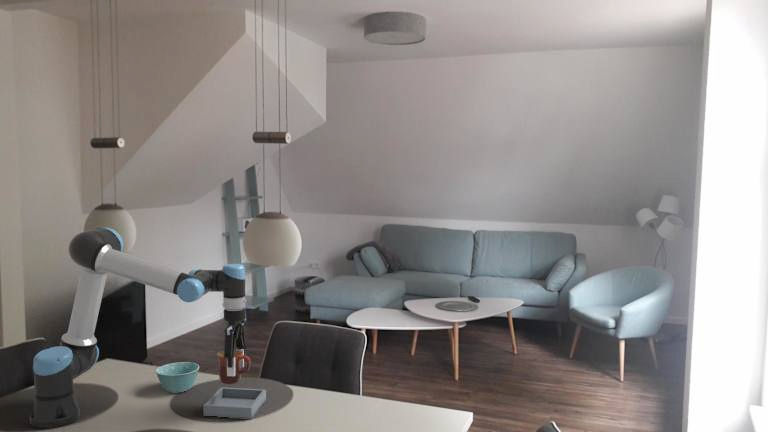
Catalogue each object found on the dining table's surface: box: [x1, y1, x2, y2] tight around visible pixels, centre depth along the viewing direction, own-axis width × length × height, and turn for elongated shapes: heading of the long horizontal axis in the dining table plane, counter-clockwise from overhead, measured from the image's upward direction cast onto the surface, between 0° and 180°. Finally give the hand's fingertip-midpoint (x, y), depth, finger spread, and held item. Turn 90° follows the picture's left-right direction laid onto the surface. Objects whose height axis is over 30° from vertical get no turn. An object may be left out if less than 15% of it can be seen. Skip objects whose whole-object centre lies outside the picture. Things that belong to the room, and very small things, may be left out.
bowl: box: [155, 361, 200, 394], centre depth 243 cm, size 16×16×8 cm
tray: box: [202, 387, 267, 420], centre depth 226 cm, size 17×17×4 cm
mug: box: [216, 349, 252, 385], centre depth 225 cm, size 12×9×10 cm
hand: (235, 371), depth 225 cm, fingers closed on mug, 8 cm apart
